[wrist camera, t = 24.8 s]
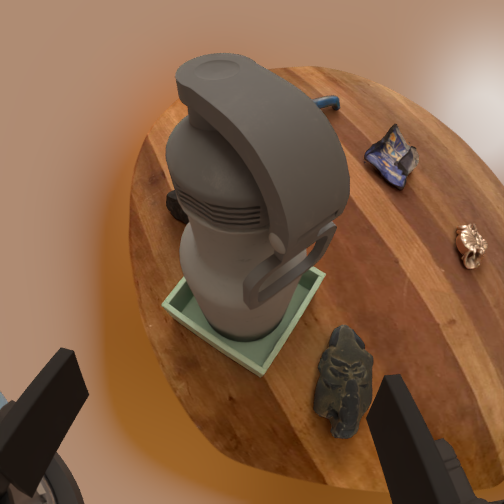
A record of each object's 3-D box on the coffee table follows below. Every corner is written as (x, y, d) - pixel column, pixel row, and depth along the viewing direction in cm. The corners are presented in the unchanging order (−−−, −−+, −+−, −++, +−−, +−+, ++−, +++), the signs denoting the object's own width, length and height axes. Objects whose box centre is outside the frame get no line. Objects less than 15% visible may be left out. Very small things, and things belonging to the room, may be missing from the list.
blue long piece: (329, 105, 55) (267, 124, 52) (328, 89, 52) (264, 106, 50) (344, 112, 52) (280, 132, 49) (344, 95, 49) (277, 113, 46)
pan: (260, 377, 32) (263, 375, 27) (172, 317, 35) (160, 304, 30) (315, 290, 37) (326, 273, 32) (232, 241, 40) (230, 218, 35)
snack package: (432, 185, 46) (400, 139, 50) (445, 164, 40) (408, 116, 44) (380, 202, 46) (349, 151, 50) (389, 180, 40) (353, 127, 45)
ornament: (484, 272, 38) (497, 263, 35) (456, 268, 38) (469, 258, 35) (475, 231, 41) (486, 220, 38) (448, 225, 42) (459, 213, 38)
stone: (368, 329, 34) (386, 317, 30) (363, 433, 28) (381, 438, 24) (316, 326, 35) (327, 314, 30) (307, 434, 29) (318, 441, 24)
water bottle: (304, 312, 35) (415, 118, 10) (237, 363, 32) (203, 244, 7) (252, 251, 38) (259, 28, 13) (187, 294, 36) (91, 89, 11)
